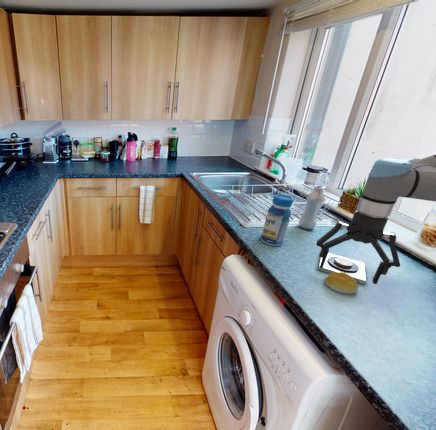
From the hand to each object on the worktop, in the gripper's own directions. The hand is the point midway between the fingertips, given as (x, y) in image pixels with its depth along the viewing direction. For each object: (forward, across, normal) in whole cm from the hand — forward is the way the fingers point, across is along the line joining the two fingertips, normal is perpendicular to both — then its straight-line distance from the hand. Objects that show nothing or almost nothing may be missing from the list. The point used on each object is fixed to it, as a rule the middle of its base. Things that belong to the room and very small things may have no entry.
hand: (346, 273), depth 91 cm
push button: (+5, 0, -12) cm, 13 cm away
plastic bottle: (+5, +14, -41) cm, 44 cm away
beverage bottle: (+5, +24, -17) cm, 30 cm away
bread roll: (+5, 0, 0) cm, 5 cm away
